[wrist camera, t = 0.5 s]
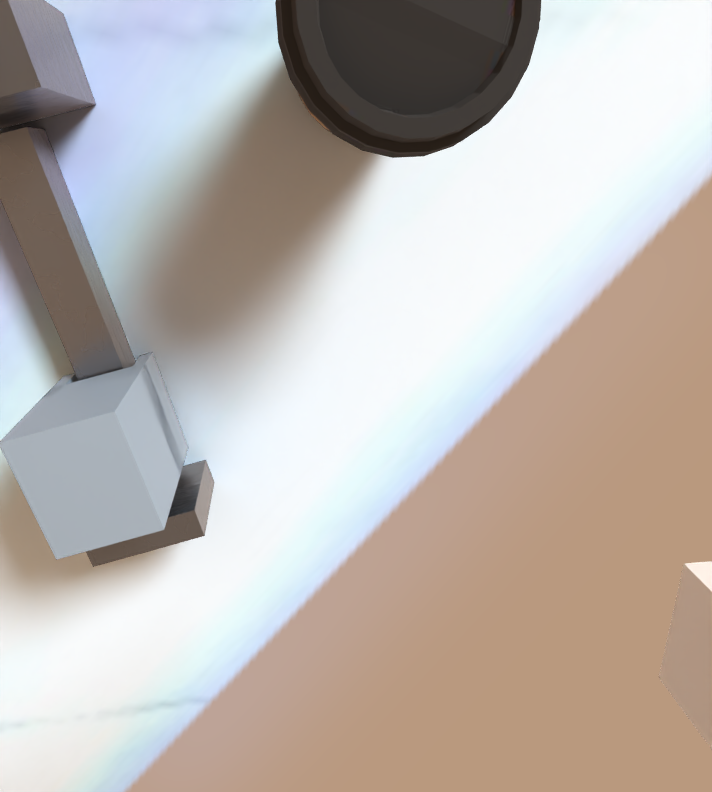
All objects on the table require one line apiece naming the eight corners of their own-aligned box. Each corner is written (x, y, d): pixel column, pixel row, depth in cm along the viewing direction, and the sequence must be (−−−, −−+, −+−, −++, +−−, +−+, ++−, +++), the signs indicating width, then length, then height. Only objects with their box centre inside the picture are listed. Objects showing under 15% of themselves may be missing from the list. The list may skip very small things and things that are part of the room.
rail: (-4, 141, 32) (-26, 140, 29) (44, 129, 32) (26, 127, 29) (135, 472, 38) (126, 492, 36) (174, 462, 39) (168, 481, 36)
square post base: (109, 486, 39) (81, 541, 33) (205, 459, 39) (194, 510, 33) (118, 508, 39) (93, 566, 34) (214, 482, 39) (204, 535, 34)
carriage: (63, 376, 35) (-2, 443, 27) (152, 352, 35) (114, 411, 27) (105, 470, 37) (56, 559, 29) (188, 447, 37) (164, 529, 29)
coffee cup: (403, 182, 35) (491, 196, 21) (253, 124, 33) (238, 96, 19) (462, 18, 32) (608, -92, 18) (305, -55, 30) (332, -240, 16)
